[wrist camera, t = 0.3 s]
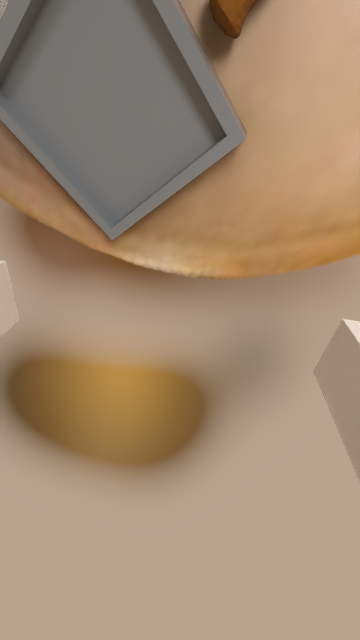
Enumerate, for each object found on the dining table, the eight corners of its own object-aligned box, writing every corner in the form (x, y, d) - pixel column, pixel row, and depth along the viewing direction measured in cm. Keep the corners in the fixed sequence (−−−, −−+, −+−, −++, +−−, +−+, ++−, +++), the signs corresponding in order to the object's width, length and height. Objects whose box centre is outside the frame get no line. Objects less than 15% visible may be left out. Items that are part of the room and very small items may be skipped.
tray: (105, -144, 18) (85, -168, 16) (246, 132, 27) (245, 139, 25) (-9, 83, 29) (-30, 87, 27) (120, 229, 38) (112, 240, 36)
